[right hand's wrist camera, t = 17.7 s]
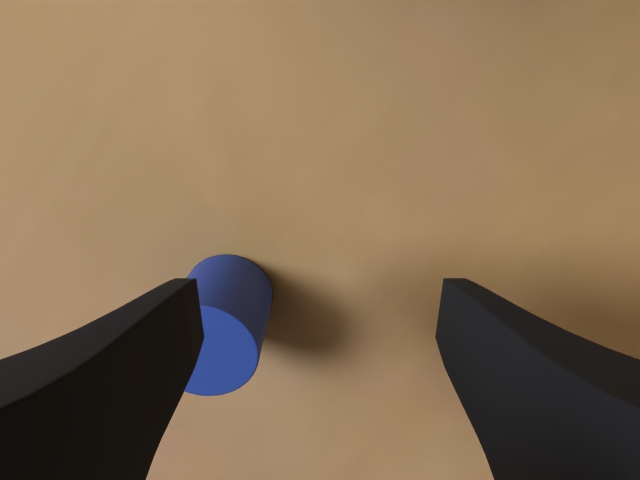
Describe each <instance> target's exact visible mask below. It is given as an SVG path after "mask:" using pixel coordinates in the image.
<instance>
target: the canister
mask: <svg viewBox="0 0 640 480" xmlns="http://www.w3.org/2000/svg"><path fill="white" fill-rule="evenodd" d="M187 278H196V280H197V287H198V294H199V301H200V308H201V316H202V323H203V330H204V341H203V344H202V347H201V351H200V354H199V357H198V360H197V363H196V366H195V369H194V371H193V373H192V375H191V378H190V380H189V382H188V384H187V386H186V388H185V390H184V391H185V392H188V393H192V394H196V395H202V396H216V395H222V394H226V393H230V392H232V391H234V390H236V389H238V388H240V387H241V386H243V385H244V384H245V383H246V382H247V381H248V380H249V379H250V378H251V377H252V376H253V374H254V372H255V371H256V368H257V365H258V362H259V357H260V353H261V349H262V344H263V340H264V335H265V331H266V326H267V322H268V318H269V313H270V309H271V304H272V299H273V293H272V287H271V284H270V282H269V279H268V278H267V276H266V274H265V273H264V272H263V271H262V270H261V269H260V268H259V267H258V266H257V265H256V264H254V263H253V262H251V261H249V260H247V259H245V258H242V257H239V256H235V255H217V256H213V257H210V258H207V259H205V260H203V261H202V262H200V263H199V264H198V265H197V266H195V268H194V269H193V270H192V271H191V273H190V274H189V275H188V277H187Z"/></svg>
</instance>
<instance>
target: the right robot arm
mask: <svg viewBox="0 0 640 480" xmlns="http://www.w3.org/2000/svg"><path fill="white" fill-rule="evenodd" d="M203 341H204V330H203V323H202V316H201V308H200V301H199V294H198V287H197V280H196V278H175V279H173V280H170V281H168V282H166V283H164V284H162V285H160V286H158V287H156V288H154V289H153V290H151V291H149V292H147V293H145V294H143V295H142V296H140V297H138V298H136V299H134V300H133V301H131V302H129V303H127V304H125V305H123V306H122V307H120V308H118V309H116V310H114V311H112V312H110V313H108V314H106V315H104V316H102V317H100V318H98V319H96V320H94V321H92V322H90V323H89V324H87V325H85V326H83V327H80V328H78V329H76V330H74V331H72V332H70V333H67V334H65V335H63V336H61V337H58V338H56V339H54V340H51V341H49V342H46V343H44V344H42V345H39V346H37V347H34V348H32V349H29V350H26V351H24V352H21V353H18V354H15V355H12V356H9V357H7V358H4V359H1V360H0V480H146V477H147V474H148V471H149V469H150V466H151V463H152V460H153V457H154V455H155V453H156V450H157V448H158V446H159V443H160V441H161V439H162V436H163V434H164V432H165V430H166V428H167V426H168V424H169V422H170V420H171V418H172V415H173V413H174V411H175V409H176V407H177V405H178V403H179V401H180V399H181V397H182V395H183V393H184V390H185V388H186V386H187V384H188V382H189V380H190V378H191V375H192V373H193V371H194V369H195V366H196V363H197V360H198V357H199V354H200V351H201V347H202V344H203ZM436 341H437V344H438V348H439V351H440V354H441V357H442V360H443V363H444V366H445V369H446V371H447V373H448V376H449V378H450V380H451V382H452V384H453V386H454V388H455V390H456V393H457V395H458V397H459V399H460V401H461V403H462V405H463V407H464V409H465V411H466V413H467V416H468V418H469V420H470V422H471V424H472V426H473V428H474V430H475V432H476V434H477V436H478V439H479V441H480V443H481V446H482V448H483V450H484V453H485V455H486V458H487V460H488V463H489V466H490V469H491V471H492V474H493V477H494V480H640V360H639V359H636V358H633V357H630V356H627V355H625V354H622V353H619V352H617V351H614V350H611V349H609V348H606V347H604V346H601V345H599V344H597V343H594V342H592V341H589V340H587V339H584V338H582V337H580V336H577V335H575V334H573V333H571V332H568V331H566V330H564V329H562V328H560V327H558V326H556V325H554V324H552V323H550V322H548V321H546V320H543V319H541V318H539V317H538V316H536V315H534V314H532V313H530V312H528V311H526V310H524V309H522V308H520V307H519V306H517V305H515V304H513V303H511V302H509V301H508V300H506V299H504V298H502V297H500V296H499V295H497V294H495V293H493V292H491V291H489V290H488V289H486V288H484V287H482V286H480V285H478V284H476V283H474V282H472V281H470V280H467V279H465V278H444V279H443V286H442V294H441V301H440V308H439V315H438V323H437V330H436Z"/></svg>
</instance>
